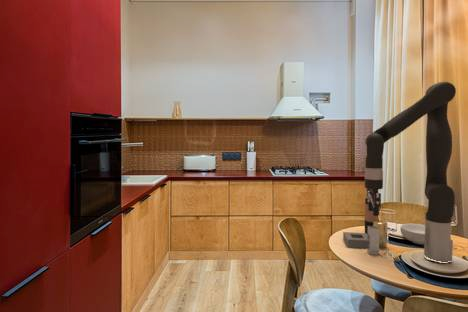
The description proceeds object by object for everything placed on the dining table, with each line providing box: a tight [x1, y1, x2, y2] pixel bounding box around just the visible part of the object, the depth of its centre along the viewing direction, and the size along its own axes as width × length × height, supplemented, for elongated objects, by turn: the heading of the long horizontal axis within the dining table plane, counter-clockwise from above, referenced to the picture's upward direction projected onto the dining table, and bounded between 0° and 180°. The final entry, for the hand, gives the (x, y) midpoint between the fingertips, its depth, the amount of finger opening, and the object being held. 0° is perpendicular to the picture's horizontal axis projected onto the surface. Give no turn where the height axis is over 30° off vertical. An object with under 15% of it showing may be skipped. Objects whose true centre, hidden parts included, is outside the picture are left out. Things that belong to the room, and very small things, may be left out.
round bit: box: [373, 220, 388, 250], centre depth 144 cm, size 6×6×12 cm
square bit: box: [366, 226, 380, 256], centre depth 136 cm, size 4×4×12 cm
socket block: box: [342, 231, 368, 250], centre depth 148 cm, size 11×11×4 cm
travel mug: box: [364, 197, 382, 235], centre depth 158 cm, size 8×8×20 cm
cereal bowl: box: [400, 223, 425, 246], centre depth 150 cm, size 17×17×7 cm
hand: (373, 213), depth 136 cm, fingers open, 8 cm apart
